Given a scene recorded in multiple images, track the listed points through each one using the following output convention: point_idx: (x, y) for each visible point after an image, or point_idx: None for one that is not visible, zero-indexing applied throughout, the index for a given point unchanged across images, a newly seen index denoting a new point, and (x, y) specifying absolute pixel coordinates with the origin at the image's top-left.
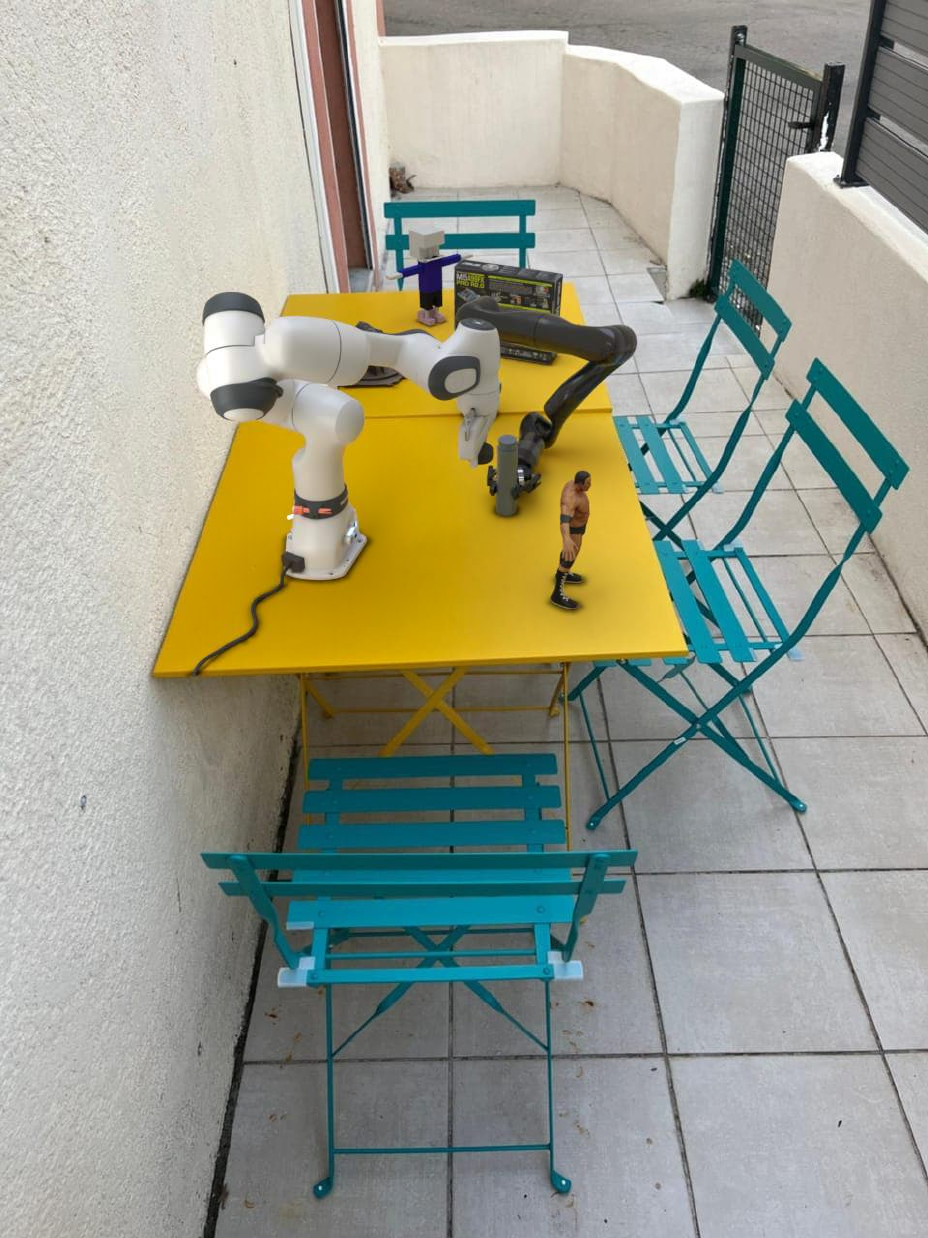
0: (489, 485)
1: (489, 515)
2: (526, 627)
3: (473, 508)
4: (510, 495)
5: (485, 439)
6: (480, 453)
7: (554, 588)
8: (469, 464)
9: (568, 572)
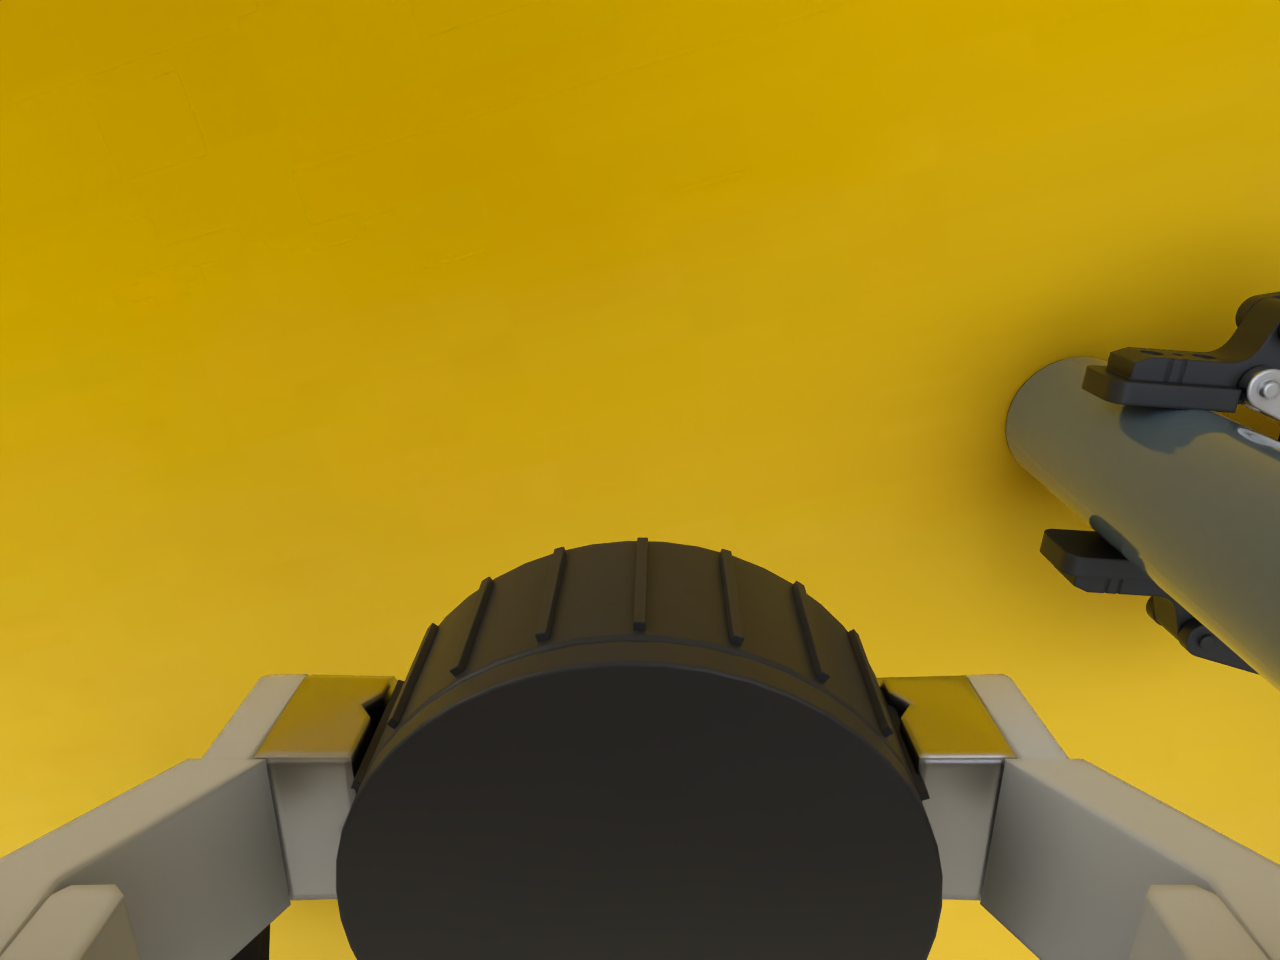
0: (1239, 321)
1: (1003, 328)
2: (48, 717)
3: (1081, 199)
4: (1079, 512)
5: (1039, 943)
6: (443, 950)
7: None
8: (249, 699)
9: None
